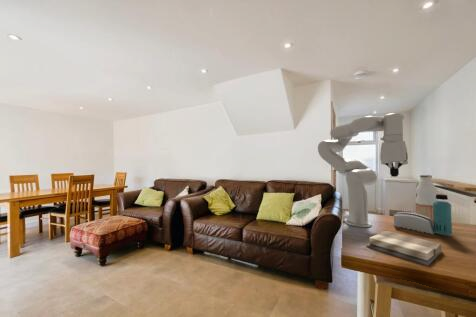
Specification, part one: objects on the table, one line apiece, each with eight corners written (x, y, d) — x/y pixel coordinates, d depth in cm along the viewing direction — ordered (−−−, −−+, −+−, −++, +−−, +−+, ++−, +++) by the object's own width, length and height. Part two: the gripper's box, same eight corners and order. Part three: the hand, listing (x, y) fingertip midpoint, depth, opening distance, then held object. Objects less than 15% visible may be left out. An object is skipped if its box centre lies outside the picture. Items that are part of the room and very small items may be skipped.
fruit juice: (419, 226, 112) (417, 175, 112) (414, 221, 120) (412, 174, 120) (442, 229, 107) (440, 175, 108) (435, 223, 116) (433, 174, 116)
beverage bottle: (449, 234, 99) (447, 193, 99) (455, 239, 93) (454, 195, 94) (431, 232, 102) (430, 193, 102) (436, 237, 96) (435, 195, 97)
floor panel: (366, 246, 88) (366, 239, 88) (384, 237, 98) (383, 230, 98) (427, 265, 72) (427, 256, 72) (441, 251, 82) (441, 243, 82)
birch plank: (369, 243, 89) (369, 237, 89) (377, 239, 93) (377, 234, 93) (427, 260, 73) (427, 253, 73) (433, 255, 77) (433, 248, 77)
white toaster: (436, 232, 103) (434, 214, 101) (434, 237, 100) (431, 219, 99) (396, 224, 117) (394, 208, 115) (393, 228, 114) (390, 212, 113)
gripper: (372, 140, 104) (374, 176, 104) (409, 136, 91) (411, 177, 91) (379, 140, 108) (380, 175, 108) (415, 137, 96) (416, 176, 95)
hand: (394, 176), depth 99 cm, fingers closed
